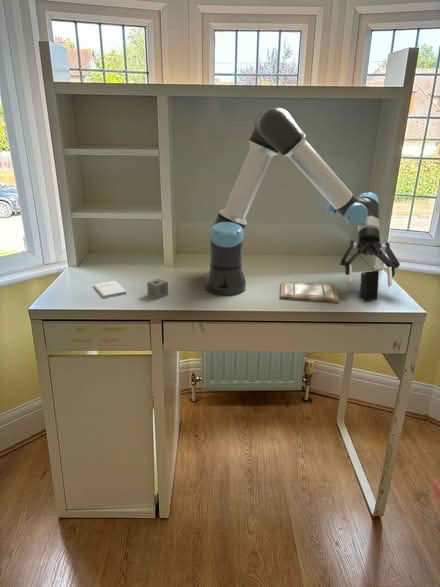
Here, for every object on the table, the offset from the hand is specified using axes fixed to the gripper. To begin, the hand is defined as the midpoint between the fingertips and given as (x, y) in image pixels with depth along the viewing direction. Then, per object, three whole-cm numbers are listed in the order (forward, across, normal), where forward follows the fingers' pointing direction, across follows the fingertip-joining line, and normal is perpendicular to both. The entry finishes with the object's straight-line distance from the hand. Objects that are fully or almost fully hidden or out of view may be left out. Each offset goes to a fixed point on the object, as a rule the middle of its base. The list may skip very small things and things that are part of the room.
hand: (369, 284), depth 147 cm
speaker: (+3, 0, -5) cm, 6 cm away
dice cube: (+12, +74, +4) cm, 75 cm away
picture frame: (+3, +21, -4) cm, 21 cm away
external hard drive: (+11, +92, +3) cm, 93 cm away
